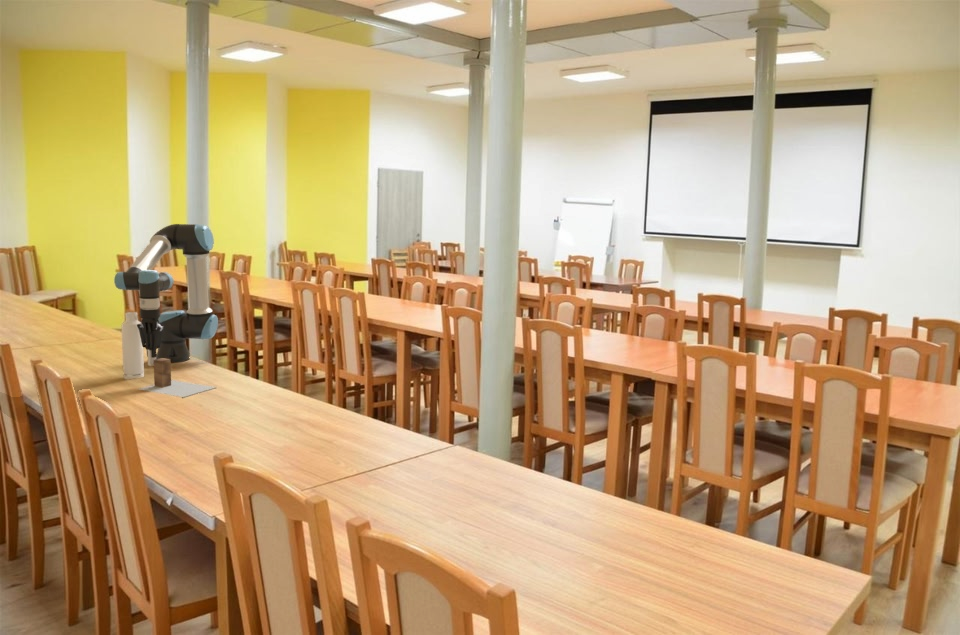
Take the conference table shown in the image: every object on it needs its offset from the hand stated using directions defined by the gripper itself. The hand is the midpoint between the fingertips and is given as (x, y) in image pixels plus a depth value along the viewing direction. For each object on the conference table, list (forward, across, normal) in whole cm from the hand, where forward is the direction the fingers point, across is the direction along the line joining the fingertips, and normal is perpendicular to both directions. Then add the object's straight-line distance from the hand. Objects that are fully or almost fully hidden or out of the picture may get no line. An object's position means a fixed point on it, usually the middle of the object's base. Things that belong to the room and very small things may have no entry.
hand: (151, 364), depth 311 cm
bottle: (+9, -17, +6) cm, 20 cm away
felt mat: (+9, +14, 0) cm, 16 cm away
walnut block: (+8, +6, 0) cm, 10 cm away
